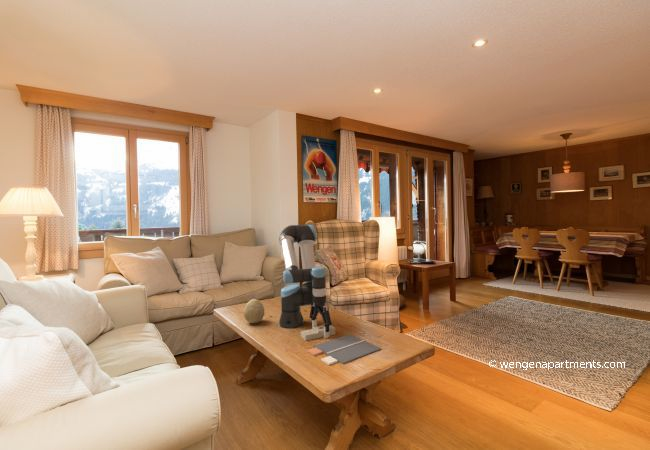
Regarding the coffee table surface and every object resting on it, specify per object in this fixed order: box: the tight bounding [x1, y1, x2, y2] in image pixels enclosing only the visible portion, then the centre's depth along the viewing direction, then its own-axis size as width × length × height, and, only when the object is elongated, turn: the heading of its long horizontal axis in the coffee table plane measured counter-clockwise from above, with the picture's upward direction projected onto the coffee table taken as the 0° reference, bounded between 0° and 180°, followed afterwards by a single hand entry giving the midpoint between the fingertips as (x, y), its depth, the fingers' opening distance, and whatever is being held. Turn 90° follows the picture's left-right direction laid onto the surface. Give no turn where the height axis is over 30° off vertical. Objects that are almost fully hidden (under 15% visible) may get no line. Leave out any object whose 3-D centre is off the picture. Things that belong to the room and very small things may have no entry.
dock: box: [307, 333, 382, 366], centre depth 157 cm, size 24×30×1 cm
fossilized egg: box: [243, 298, 265, 324], centre depth 200 cm, size 13×13×15 cm
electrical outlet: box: [300, 324, 336, 341], centre depth 177 cm, size 7×4×18 cm
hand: (320, 334), depth 177 cm, fingers open, 11 cm apart
